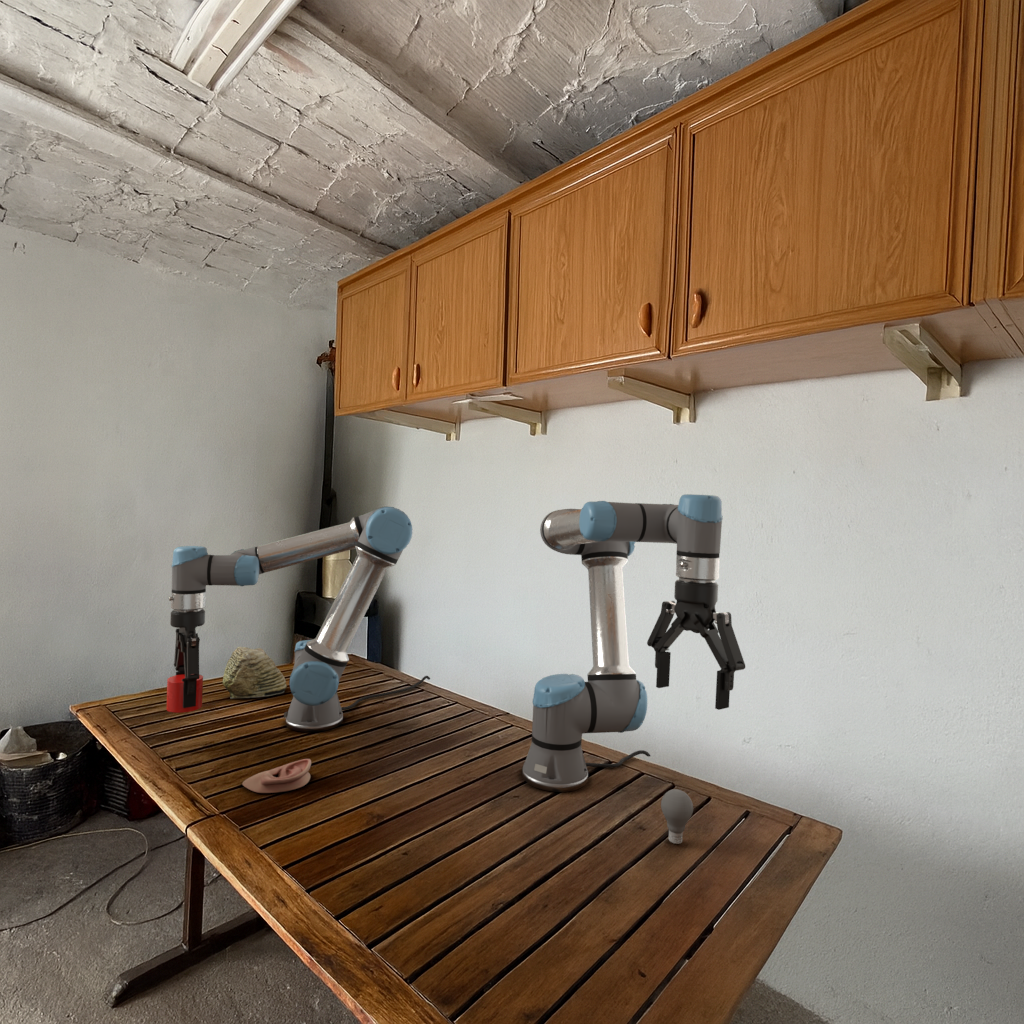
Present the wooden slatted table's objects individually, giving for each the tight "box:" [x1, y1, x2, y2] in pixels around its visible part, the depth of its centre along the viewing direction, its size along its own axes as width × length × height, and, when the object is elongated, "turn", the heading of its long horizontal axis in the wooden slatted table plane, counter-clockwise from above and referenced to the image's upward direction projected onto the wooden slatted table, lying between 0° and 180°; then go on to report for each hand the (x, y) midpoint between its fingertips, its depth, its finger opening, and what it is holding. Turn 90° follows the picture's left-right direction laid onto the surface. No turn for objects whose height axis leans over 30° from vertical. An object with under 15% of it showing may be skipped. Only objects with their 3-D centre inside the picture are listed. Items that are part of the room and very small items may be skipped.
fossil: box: [222, 646, 288, 699], centre depth 198 cm, size 9×18×15 cm, turn 132°
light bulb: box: [660, 788, 694, 845], centre depth 121 cm, size 6×6×10 cm
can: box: [165, 673, 204, 714], centre depth 155 cm, size 8×8×7 cm
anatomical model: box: [241, 758, 312, 794], centre depth 139 cm, size 13×4×12 cm
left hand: (185, 701), depth 155 cm, fingers closed on can, 8 cm apart
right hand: (690, 697), depth 115 cm, fingers open, 13 cm apart
